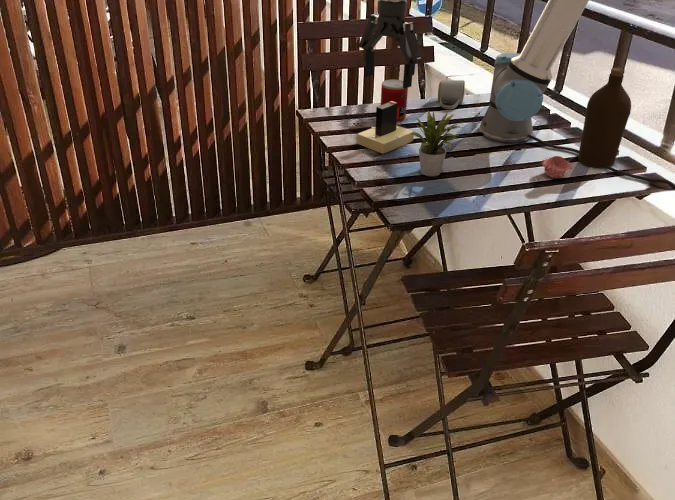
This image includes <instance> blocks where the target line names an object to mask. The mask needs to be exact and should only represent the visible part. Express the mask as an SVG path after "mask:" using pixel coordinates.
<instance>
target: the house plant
mask: <svg viewBox="0 0 675 500" xmlns="http://www.w3.org/2000/svg"><path fill="white" fill-rule="evenodd" d="M448 113H449V111H447V112H446V113H445V114H444V116H443V117H442V118H441V120H439V122H438V124H437V121H436V117H435V115H436V114H435V112H434V110H432V114H431V111H430V110H429V109H428V110H427V113H426V126H425V124H424V123H423V121H421V120H420V118H417V117H415V120H417V122H418V124H419V125H420V126H419V125H417V127H418V128H419V129H420V131H421V132H422V133H423V135H424V137H423V135H421V133H419V132H416V131H414V132H412V133H410V134H412V135H414V136H415V137H417V138H418V139H420V140H421V142H420V143H421V144H420V146H419V148H418V155H419V157H418V158H419V165H420V173H421V174H422V175H423V176H426V177H437V176H440V174H441V173H442V169H443V166H444V162H445V158H446V155H447V152H448V151H447V149H446V147H444V146H445V145H447V146H449V147H450V148H453V144H452V142H450V141H453V140H457V136H458V134H453V133H450V131H451V130H455V129H463V128H464V126H461V125H462V124H463V125H464V122H457V123H454V124H451V125H450V126H448V124H449V123H450V120H451V119H452V118H453V117H454V115H455V114H451V115H449V116H448ZM447 116H448V117H447ZM414 136H413V137H414Z"/></svg>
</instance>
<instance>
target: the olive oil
mask: <svg viewBox="0 0 675 500" xmlns="http://www.w3.org/2000/svg"><path fill="white" fill-rule="evenodd" d="M624 74H625V69H624V68H622V67H611V70H610V73H609V75H608V79H607V83H606V84H605V85H603V86H602V87H599V89H597V90H595V92H594V93H592V94H591V95H590V97H589V99H588V101H587V105H586V110H585V116H584V122H583V128H582V133H581V139H580V145H579V149H578V150H579V154H578V153H577V154H578V155H577V160H578V162H580V163H581V164H583V165H585V166H587V167H591V168H597V169H605V168H604V165H608V166H610V167H613V166H614V165H615V162H616V159H617V155H618V152H619V149H620V145H621V142H622V139H623V137H624V133H625V130H626V127H627V124H628V121H629V118H630V116H631V111H632V101H631V97H630V96H629V94H628V92H627V91H626V90H625V87H623V85H622V84H623V81H624V77H625V75H624Z"/></svg>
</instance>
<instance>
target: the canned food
mask: <svg viewBox="0 0 675 500" xmlns="http://www.w3.org/2000/svg"><path fill="white" fill-rule="evenodd" d="M408 90H409V87H408V88H405V89H404V88H403V80H401V79H386V80H383V81H382V82H381V88H380V91H381V93H380V106H381V105H383V104H386V103H389V102H390V101H394V102H397V103H398V107H397V123H401V122H403V121H405V119H406V116H407V106H408V105H407V104H408V92H409V91H408Z"/></svg>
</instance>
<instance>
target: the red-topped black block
mask: <svg viewBox="0 0 675 500" xmlns="http://www.w3.org/2000/svg"><path fill="white" fill-rule="evenodd" d="M397 107H398V103H397V102H394V101H390V102H389V103H386V104H383V105H381V104H380V105H378V106H376V108H375V126H374V127H375V134H376V135H378V136H383V135H386V134H388V133H391V132H393V131H396V125H397V123H398V122H397Z"/></svg>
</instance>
